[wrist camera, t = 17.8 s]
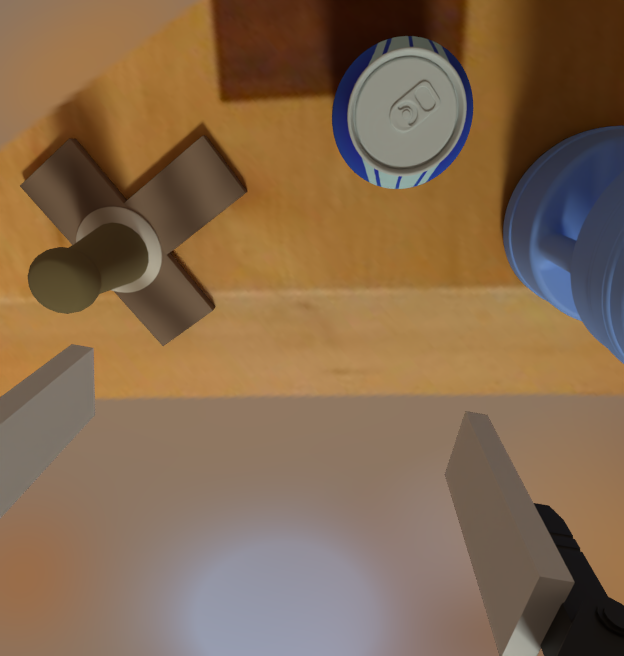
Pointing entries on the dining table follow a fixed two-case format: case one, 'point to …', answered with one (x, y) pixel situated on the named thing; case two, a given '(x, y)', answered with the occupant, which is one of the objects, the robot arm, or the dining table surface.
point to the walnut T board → (143, 222)
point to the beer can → (402, 112)
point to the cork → (88, 268)
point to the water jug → (574, 231)
